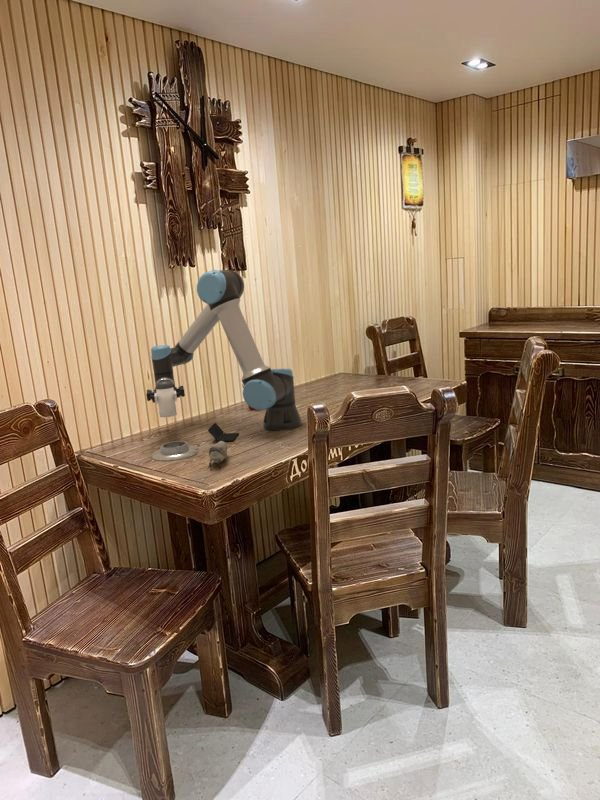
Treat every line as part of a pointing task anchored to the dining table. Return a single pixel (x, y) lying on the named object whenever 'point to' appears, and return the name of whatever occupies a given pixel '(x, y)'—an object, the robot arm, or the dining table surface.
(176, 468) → the dining table surface
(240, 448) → the dining table surface
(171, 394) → the lens
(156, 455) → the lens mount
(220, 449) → the decorative bird
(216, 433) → the handheld gaming console
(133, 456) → the dining table surface
